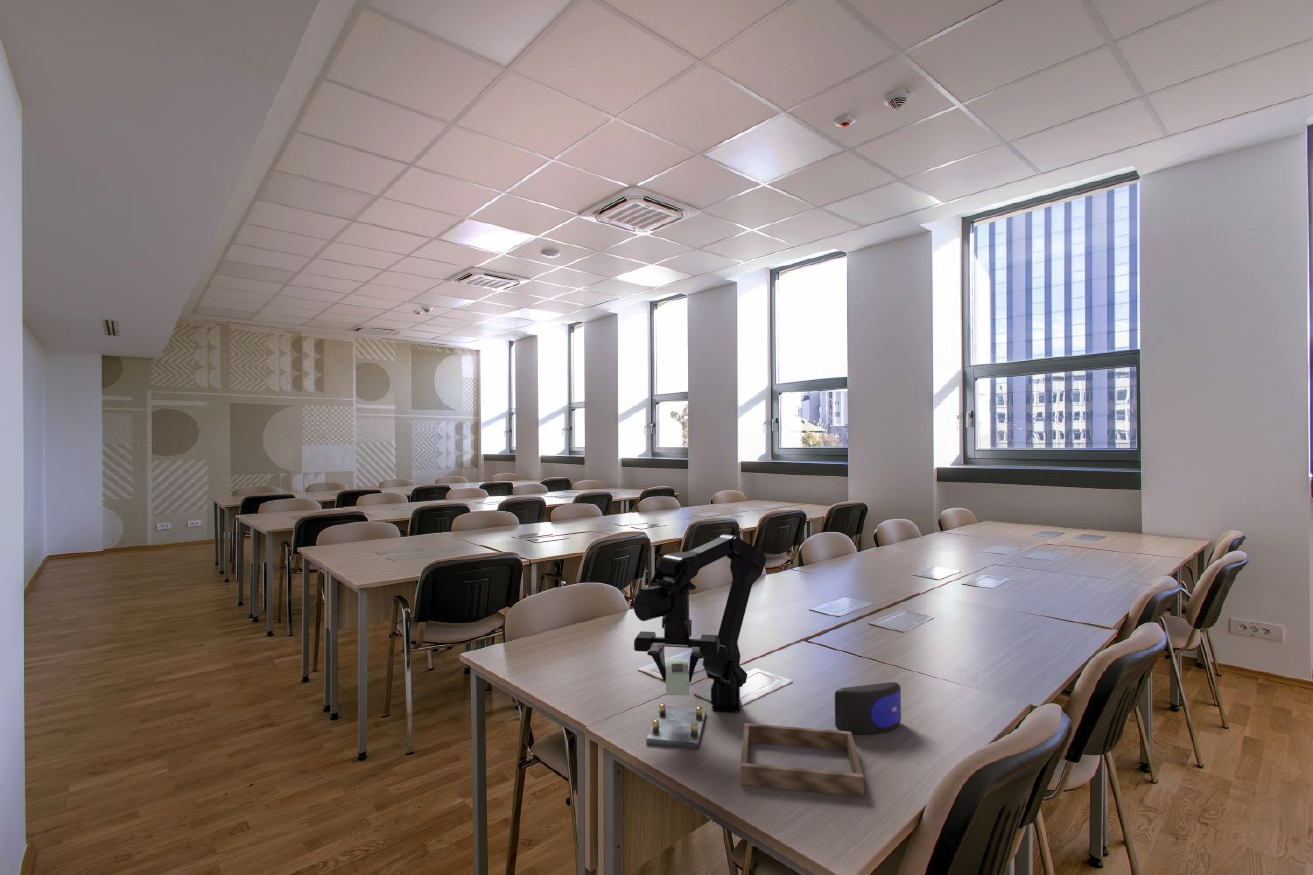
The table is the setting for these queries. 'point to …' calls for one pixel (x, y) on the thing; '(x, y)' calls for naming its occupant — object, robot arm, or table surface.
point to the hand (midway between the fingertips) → (677, 681)
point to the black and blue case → (868, 708)
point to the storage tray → (800, 776)
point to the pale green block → (677, 677)
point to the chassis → (677, 726)
